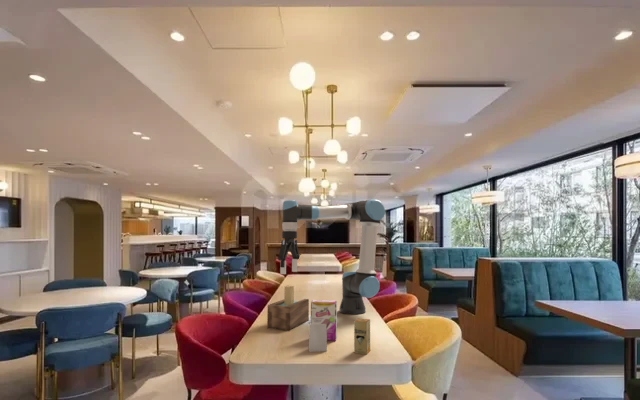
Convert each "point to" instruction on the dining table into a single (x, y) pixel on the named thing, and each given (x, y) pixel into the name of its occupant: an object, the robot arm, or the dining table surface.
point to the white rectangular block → (317, 337)
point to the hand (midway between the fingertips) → (289, 272)
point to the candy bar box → (325, 316)
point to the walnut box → (287, 315)
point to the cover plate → (288, 296)
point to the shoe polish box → (362, 336)
